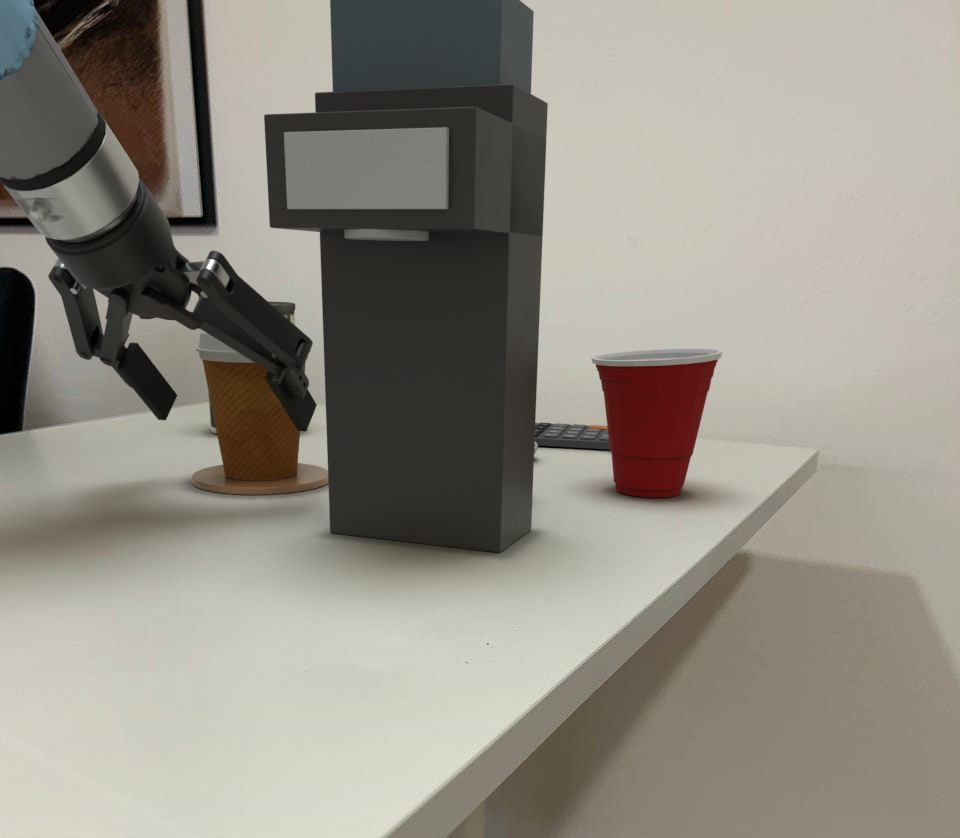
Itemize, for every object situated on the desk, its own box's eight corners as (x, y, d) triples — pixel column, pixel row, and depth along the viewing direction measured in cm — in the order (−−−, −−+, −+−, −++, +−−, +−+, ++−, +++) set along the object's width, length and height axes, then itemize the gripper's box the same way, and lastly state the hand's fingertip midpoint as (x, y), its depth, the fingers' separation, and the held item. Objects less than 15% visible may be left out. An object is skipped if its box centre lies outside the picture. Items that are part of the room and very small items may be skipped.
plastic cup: (584, 476, 92) (592, 343, 88) (701, 481, 91) (715, 346, 87) (583, 501, 82) (591, 352, 78) (714, 507, 81) (730, 356, 77)
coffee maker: (465, 578, 61) (475, -53, 49) (282, 554, 65) (251, -32, 53) (531, 529, 73) (551, 11, 61) (372, 512, 77) (363, 24, 65)
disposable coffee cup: (207, 486, 82) (195, 336, 77) (204, 465, 90) (193, 329, 86) (322, 482, 84) (317, 336, 80) (308, 462, 93) (303, 329, 88)
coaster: (162, 483, 85) (161, 476, 85) (257, 463, 95) (257, 456, 95) (267, 501, 80) (267, 493, 80) (357, 477, 90) (357, 471, 89)
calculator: (619, 441, 105) (482, 433, 108) (618, 449, 105) (482, 442, 108) (627, 426, 116) (503, 419, 119) (627, 433, 116) (502, 427, 119)
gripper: (-82, 246, 66) (96, 438, 85) (235, 250, 59) (356, 461, 77) (-32, 167, 69) (130, 369, 88) (277, 161, 61) (383, 385, 80)
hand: (236, 412), depth 83 cm, fingers open, 13 cm apart
